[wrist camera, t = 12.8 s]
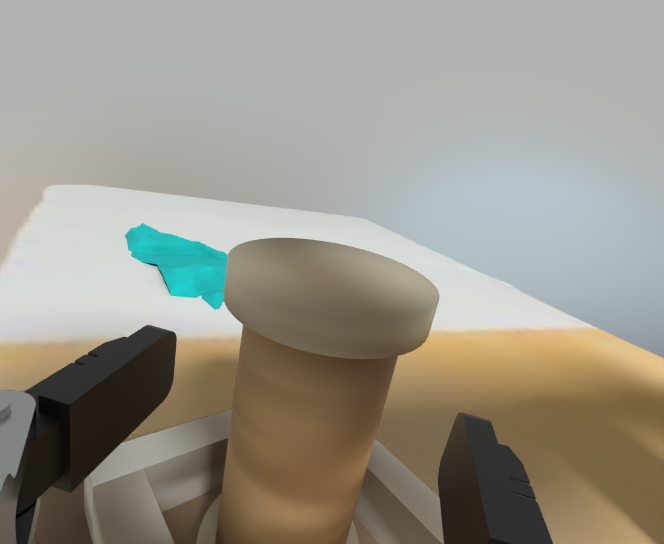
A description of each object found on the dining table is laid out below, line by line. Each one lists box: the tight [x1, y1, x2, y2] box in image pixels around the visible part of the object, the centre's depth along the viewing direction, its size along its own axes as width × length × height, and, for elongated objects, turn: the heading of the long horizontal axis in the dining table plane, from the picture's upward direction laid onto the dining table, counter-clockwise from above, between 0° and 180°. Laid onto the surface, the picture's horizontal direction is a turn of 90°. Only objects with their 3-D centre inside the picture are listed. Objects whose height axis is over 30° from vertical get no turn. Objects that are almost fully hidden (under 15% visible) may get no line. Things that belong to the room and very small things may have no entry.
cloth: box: [125, 223, 228, 310], centre depth 44 cm, size 26×14×2 cm, turn 27°
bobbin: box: [196, 238, 439, 544], centre depth 12 cm, size 6×6×11 cm
